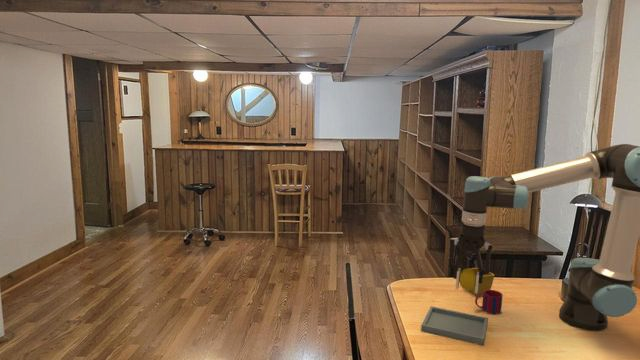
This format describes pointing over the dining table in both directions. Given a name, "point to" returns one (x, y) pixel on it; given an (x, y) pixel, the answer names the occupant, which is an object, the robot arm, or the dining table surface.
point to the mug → (491, 301)
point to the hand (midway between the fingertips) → (466, 289)
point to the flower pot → (483, 283)
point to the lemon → (467, 279)
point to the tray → (455, 325)
